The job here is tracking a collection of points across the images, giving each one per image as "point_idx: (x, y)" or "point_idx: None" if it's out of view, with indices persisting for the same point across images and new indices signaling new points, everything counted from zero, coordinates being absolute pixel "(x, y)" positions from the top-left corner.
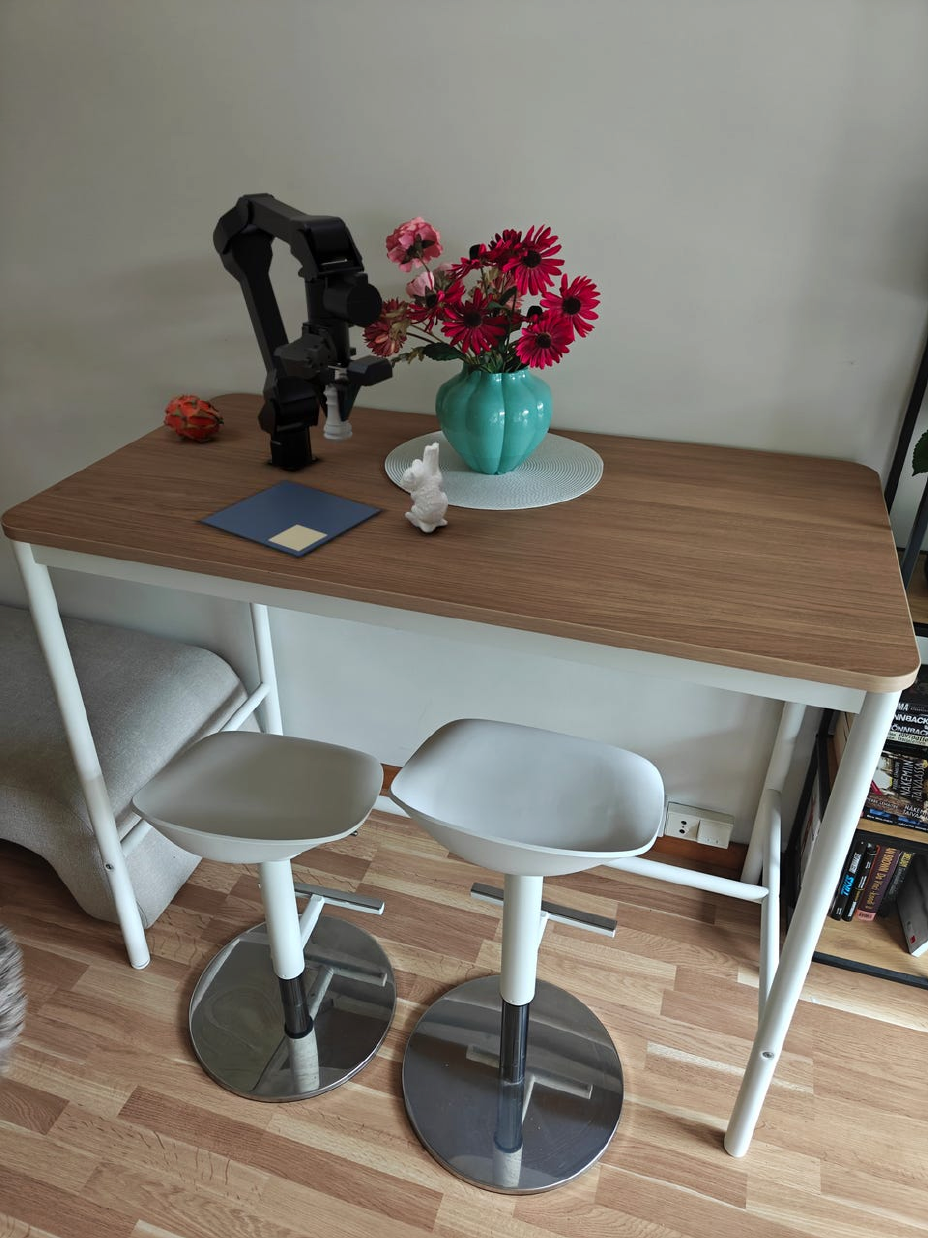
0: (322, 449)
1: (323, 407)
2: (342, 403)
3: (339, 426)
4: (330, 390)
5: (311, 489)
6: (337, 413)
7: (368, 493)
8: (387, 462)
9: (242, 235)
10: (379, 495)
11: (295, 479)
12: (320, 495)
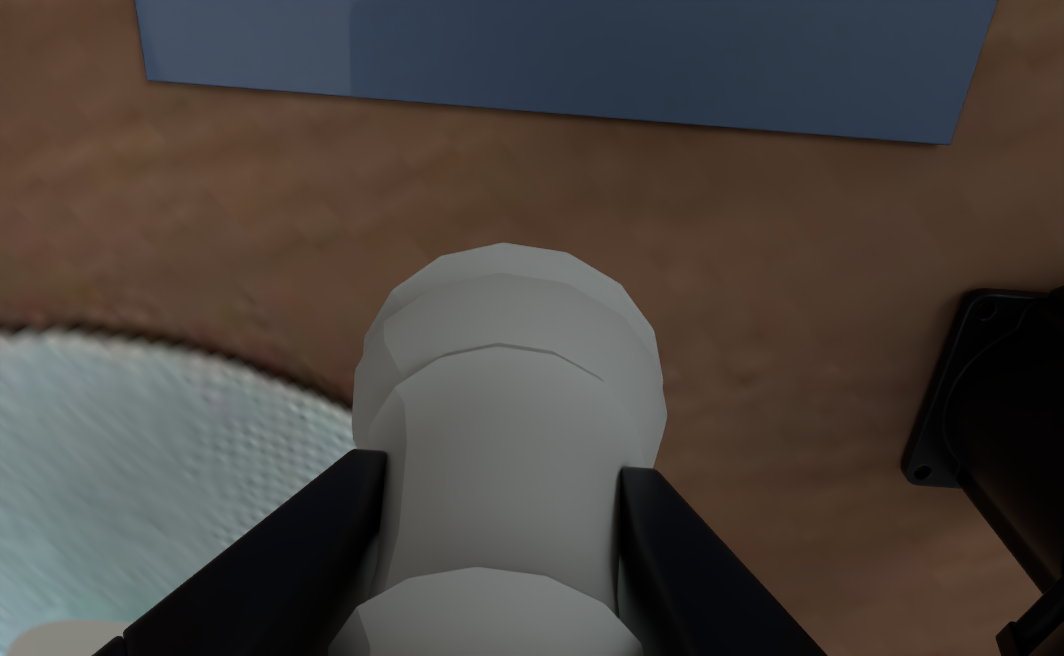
0: (949, 572)
1: (679, 547)
2: (152, 626)
3: (401, 385)
4: None
5: (715, 115)
6: (404, 505)
7: (393, 253)
8: None
9: None
10: (323, 261)
11: (905, 208)
12: (608, 66)
